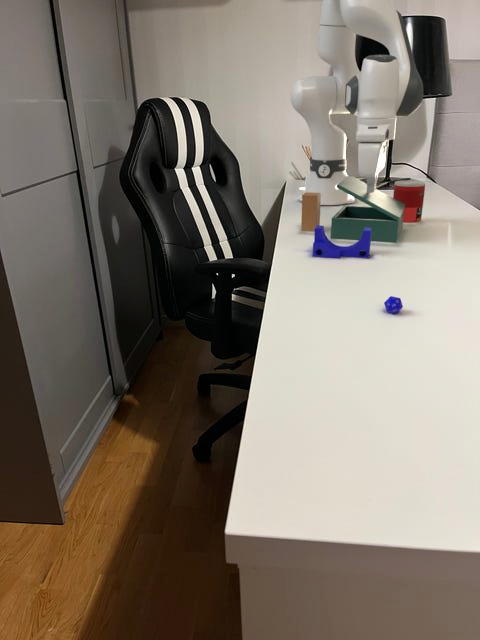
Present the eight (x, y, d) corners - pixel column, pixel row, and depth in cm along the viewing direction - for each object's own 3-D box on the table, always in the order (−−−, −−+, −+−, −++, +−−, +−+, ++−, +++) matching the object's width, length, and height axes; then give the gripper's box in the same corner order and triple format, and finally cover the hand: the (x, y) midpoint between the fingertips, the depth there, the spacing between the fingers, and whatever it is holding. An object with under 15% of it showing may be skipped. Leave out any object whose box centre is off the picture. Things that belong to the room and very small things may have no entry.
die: (405, 314, 80) (402, 303, 78) (389, 319, 81) (385, 308, 79) (401, 301, 82) (397, 290, 80) (385, 306, 83) (381, 295, 81)
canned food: (422, 225, 136) (427, 184, 131) (391, 225, 137) (395, 184, 133) (419, 219, 143) (423, 180, 138) (390, 219, 144) (393, 180, 140)
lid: (335, 187, 118) (337, 184, 117) (348, 177, 132) (349, 174, 131) (397, 221, 115) (399, 217, 115) (403, 207, 130) (405, 204, 129)
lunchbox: (330, 241, 123) (331, 218, 121) (342, 226, 137) (344, 205, 135) (396, 245, 118) (398, 221, 115) (402, 230, 132) (404, 208, 130)
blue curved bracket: (312, 256, 111) (313, 230, 109) (316, 251, 115) (317, 225, 113) (367, 260, 108) (369, 232, 105) (369, 254, 112) (371, 228, 109)
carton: (304, 230, 135) (305, 192, 131) (319, 230, 133) (320, 192, 130) (301, 233, 131) (301, 194, 127) (316, 234, 130) (317, 195, 126)
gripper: (368, 129, 128) (364, 185, 133) (355, 134, 110) (351, 198, 115) (393, 129, 125) (388, 186, 131) (384, 134, 108) (379, 199, 113)
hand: (371, 191), depth 123 cm, fingers closed
